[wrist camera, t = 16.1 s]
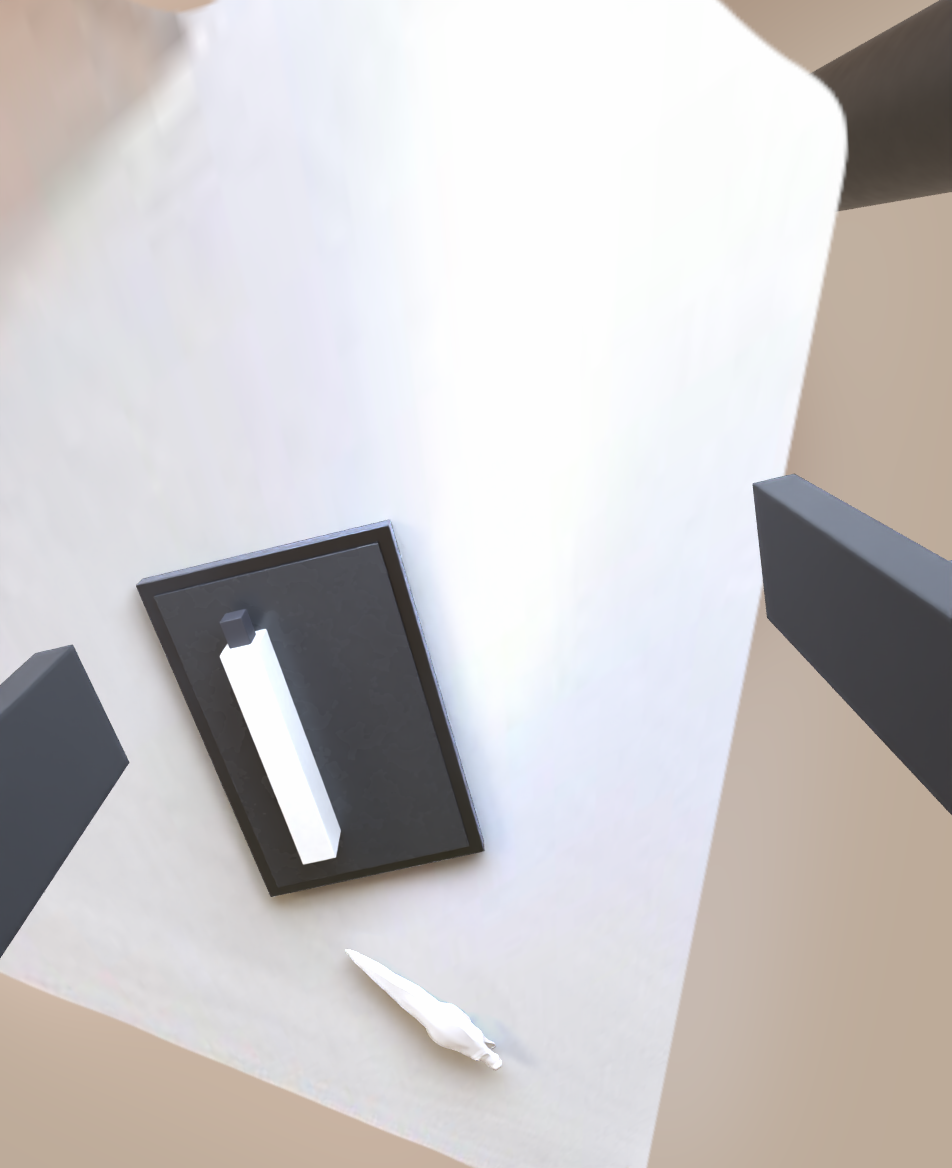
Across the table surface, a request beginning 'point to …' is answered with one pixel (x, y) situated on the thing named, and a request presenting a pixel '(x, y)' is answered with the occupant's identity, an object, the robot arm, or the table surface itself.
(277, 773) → the white rectangular bar
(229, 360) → the table surface
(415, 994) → the white tapered piece
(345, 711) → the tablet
